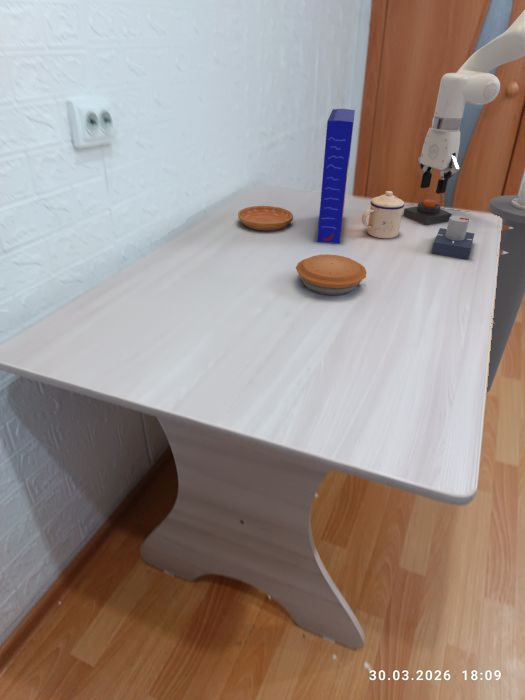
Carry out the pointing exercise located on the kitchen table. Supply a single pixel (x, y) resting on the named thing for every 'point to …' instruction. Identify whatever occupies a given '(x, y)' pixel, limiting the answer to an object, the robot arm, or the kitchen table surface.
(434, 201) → the button
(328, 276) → the pie
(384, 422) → the kitchen table surface
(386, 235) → the teacup with lid
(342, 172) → the cereal box
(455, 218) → the dial
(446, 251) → the dial panel
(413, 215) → the switch block
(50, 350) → the kitchen table surface
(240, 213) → the saucer
